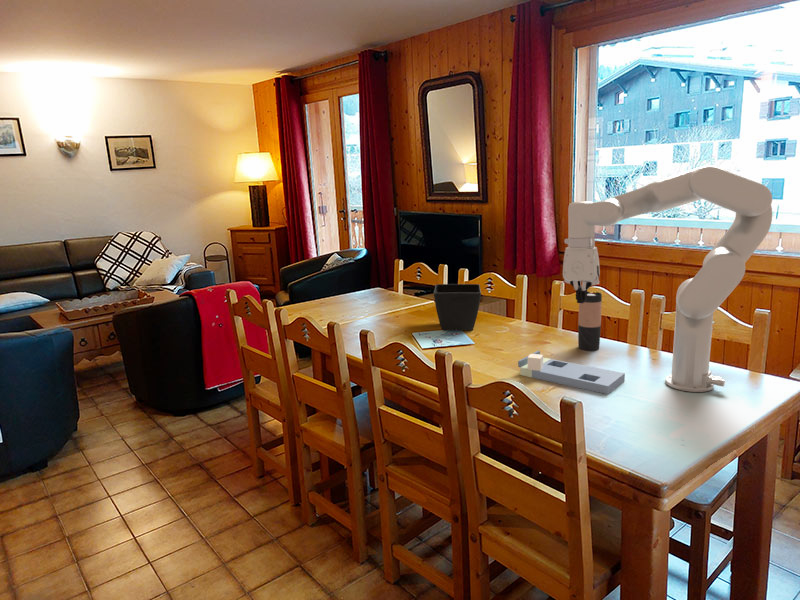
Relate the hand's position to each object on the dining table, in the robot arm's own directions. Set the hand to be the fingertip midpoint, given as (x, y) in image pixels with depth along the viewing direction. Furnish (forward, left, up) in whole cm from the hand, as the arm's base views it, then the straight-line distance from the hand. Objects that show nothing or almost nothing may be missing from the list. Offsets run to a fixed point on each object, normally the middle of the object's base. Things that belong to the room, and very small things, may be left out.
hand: (581, 302), depth 174 cm
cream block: (+10, +10, -21) cm, 25 cm away
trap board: (0, +5, -23) cm, 24 cm away
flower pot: (+64, -25, -23) cm, 73 cm away
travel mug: (+8, -27, -23) cm, 36 cm away
